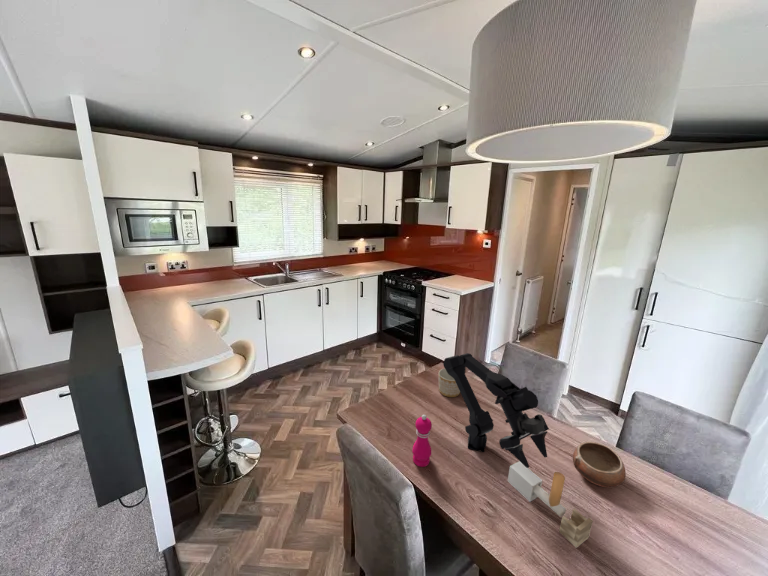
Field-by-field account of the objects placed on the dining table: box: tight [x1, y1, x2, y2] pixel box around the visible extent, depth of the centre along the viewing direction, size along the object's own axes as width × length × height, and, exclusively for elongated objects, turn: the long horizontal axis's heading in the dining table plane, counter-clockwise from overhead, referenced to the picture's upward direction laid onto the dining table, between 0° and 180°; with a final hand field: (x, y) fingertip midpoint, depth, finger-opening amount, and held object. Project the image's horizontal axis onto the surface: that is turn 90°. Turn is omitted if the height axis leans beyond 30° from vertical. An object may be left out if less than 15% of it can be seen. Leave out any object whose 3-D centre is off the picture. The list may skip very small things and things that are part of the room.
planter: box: [437, 368, 461, 398], centre depth 160 cm, size 13×13×10 cm
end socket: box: [559, 508, 594, 549], centre depth 90 cm, size 5×6×6 cm
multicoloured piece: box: [533, 471, 567, 518], centre depth 99 cm, size 16×3×12 cm, turn 28°
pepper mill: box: [411, 414, 432, 468], centre depth 114 cm, size 7×7×20 cm
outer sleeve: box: [507, 460, 543, 503], centre depth 105 cm, size 9×5×6 cm, turn 28°
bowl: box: [572, 441, 627, 488], centre depth 111 cm, size 16×16×10 cm
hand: (537, 462), depth 100 cm, fingers open, 9 cm apart
